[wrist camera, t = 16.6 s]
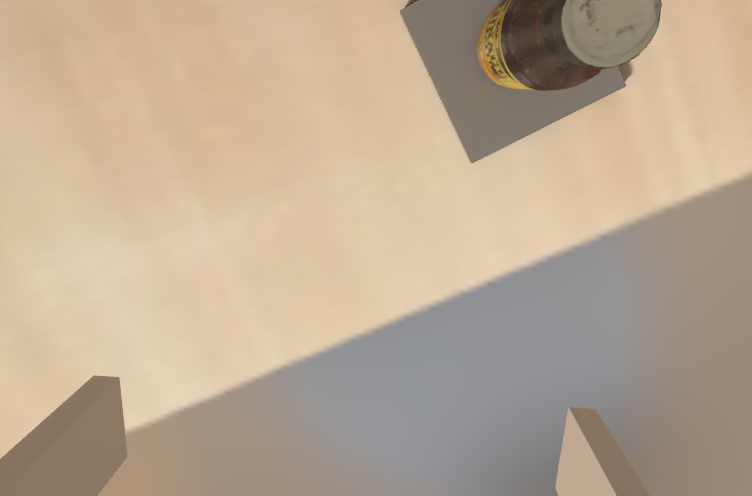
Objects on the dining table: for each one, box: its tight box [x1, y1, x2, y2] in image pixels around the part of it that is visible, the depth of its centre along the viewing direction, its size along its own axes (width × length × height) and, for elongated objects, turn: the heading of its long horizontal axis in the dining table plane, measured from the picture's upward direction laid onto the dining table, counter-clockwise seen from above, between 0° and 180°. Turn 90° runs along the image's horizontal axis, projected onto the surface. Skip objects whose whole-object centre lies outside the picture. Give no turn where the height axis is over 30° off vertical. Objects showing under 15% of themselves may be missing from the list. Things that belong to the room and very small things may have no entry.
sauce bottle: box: [477, 0, 662, 91], centre depth 30 cm, size 6×6×20 cm
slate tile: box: [400, 0, 626, 163], centre depth 40 cm, size 13×13×1 cm
